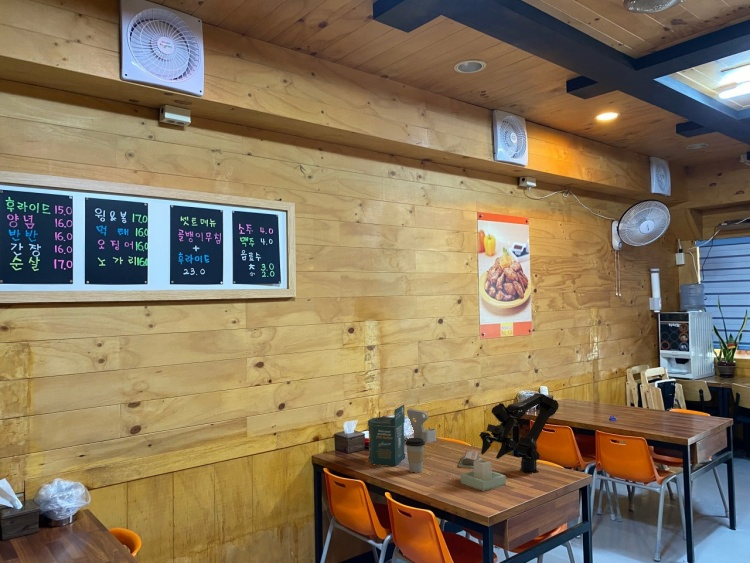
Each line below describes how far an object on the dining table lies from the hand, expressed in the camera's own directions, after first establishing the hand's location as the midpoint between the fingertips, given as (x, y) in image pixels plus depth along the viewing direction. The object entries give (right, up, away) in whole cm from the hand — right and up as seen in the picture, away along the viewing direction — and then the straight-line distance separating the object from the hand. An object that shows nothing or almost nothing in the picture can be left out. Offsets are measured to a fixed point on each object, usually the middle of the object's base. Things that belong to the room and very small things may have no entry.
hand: (489, 456), depth 255 cm
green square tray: (-3, -11, -3) cm, 12 cm away
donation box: (-46, -14, +36) cm, 60 cm away
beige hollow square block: (-3, -11, -3) cm, 12 cm away
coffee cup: (-32, -13, +17) cm, 39 cm away
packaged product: (-3, -13, +30) cm, 33 cm away
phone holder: (-24, -15, +80) cm, 85 cm away
